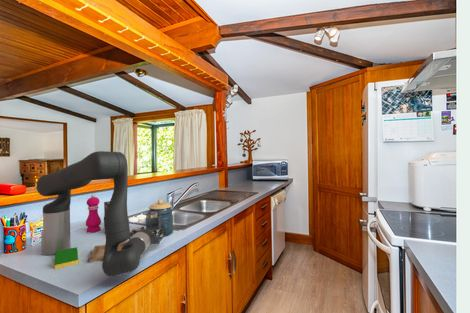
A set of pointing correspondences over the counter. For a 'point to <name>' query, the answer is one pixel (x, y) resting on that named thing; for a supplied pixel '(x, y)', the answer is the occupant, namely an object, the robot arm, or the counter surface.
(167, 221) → the canister
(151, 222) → the grey square container
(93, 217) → the pepper mill
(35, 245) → the counter surface
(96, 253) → the tray
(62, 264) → the dish sponge
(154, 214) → the post
